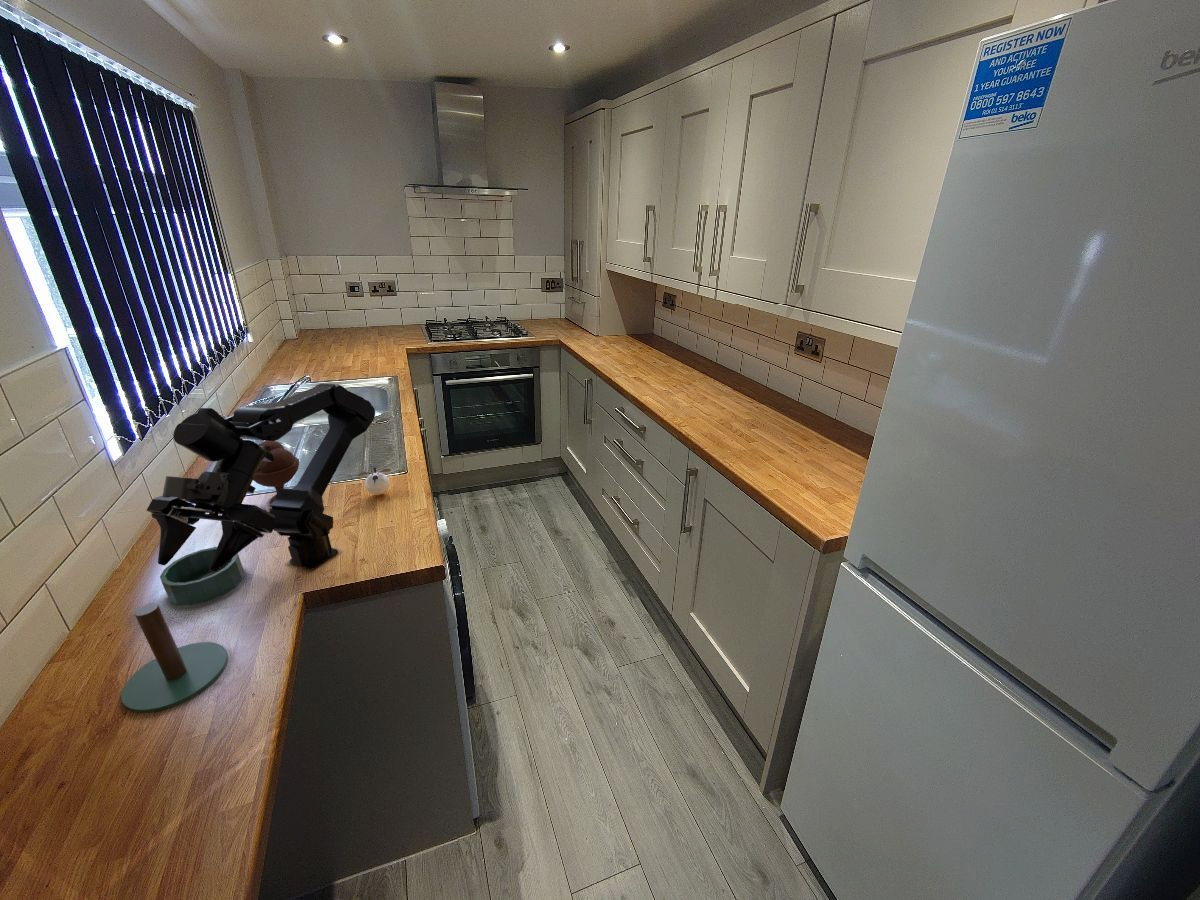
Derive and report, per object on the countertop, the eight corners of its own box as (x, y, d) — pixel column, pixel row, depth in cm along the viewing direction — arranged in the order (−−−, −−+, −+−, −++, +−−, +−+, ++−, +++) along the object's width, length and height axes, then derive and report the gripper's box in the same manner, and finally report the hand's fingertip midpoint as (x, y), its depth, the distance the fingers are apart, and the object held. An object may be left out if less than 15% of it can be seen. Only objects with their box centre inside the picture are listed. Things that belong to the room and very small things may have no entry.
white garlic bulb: (362, 506, 124) (356, 480, 121) (364, 491, 131) (358, 466, 128) (395, 500, 126) (389, 475, 124) (395, 486, 133) (390, 462, 130)
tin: (219, 562, 105) (211, 541, 103) (258, 575, 101) (251, 554, 99) (155, 598, 95) (145, 576, 93) (196, 614, 91) (187, 591, 89)
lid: (195, 639, 85) (166, 572, 80) (248, 661, 81) (221, 592, 76) (104, 699, 75) (64, 627, 70) (159, 728, 70) (121, 654, 65)
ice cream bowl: (246, 506, 125) (227, 449, 119) (287, 486, 135) (271, 432, 129) (278, 514, 122) (260, 455, 116) (317, 492, 131) (303, 437, 125)
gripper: (142, 447, 81) (83, 545, 74) (246, 455, 77) (194, 559, 70) (201, 478, 90) (153, 566, 83) (295, 486, 87) (254, 579, 80)
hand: (186, 567), depth 79 cm, fingers open, 9 cm apart
